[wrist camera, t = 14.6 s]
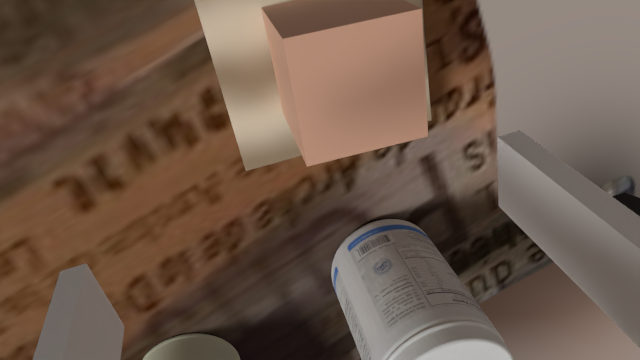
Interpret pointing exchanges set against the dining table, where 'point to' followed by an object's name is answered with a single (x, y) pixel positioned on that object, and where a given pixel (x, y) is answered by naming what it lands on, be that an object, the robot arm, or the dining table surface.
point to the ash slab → (254, 78)
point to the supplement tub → (408, 298)
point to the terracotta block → (348, 74)
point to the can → (193, 348)
